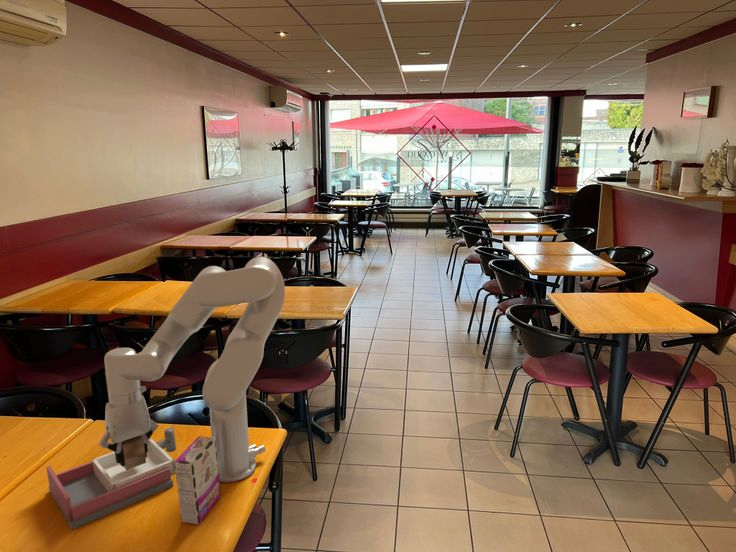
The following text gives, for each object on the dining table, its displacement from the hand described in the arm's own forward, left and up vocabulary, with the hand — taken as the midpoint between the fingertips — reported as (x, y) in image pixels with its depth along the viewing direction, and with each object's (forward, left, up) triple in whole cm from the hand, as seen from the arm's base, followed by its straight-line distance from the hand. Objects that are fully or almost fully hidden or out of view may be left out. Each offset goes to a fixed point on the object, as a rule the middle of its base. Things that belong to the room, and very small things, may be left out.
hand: (132, 459), depth 141 cm
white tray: (-3, 0, -4) cm, 5 cm away
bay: (+6, 0, -6) cm, 8 cm away
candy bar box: (-7, +24, -6) cm, 26 cm away
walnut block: (0, 0, -1) cm, 1 cm away
